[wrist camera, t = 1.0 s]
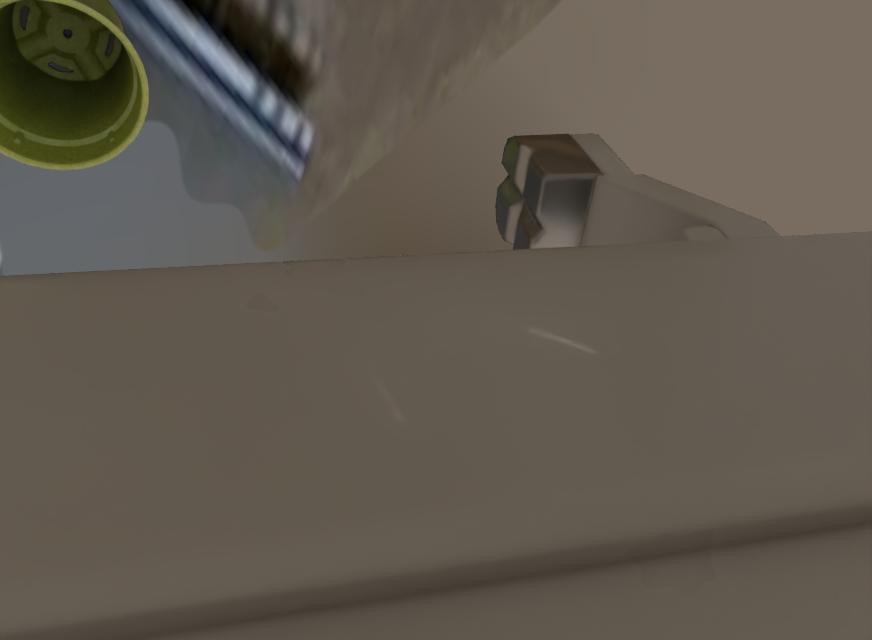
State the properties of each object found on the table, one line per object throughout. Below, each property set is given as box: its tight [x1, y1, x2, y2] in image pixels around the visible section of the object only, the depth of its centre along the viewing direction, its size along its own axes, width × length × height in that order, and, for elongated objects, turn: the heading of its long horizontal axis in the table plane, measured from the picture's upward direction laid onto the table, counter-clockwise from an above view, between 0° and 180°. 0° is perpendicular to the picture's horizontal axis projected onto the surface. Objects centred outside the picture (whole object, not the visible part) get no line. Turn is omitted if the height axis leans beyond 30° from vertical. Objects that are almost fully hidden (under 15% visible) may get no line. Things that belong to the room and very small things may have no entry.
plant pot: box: [0, 0, 149, 170], centre depth 44 cm, size 9×9×9 cm
